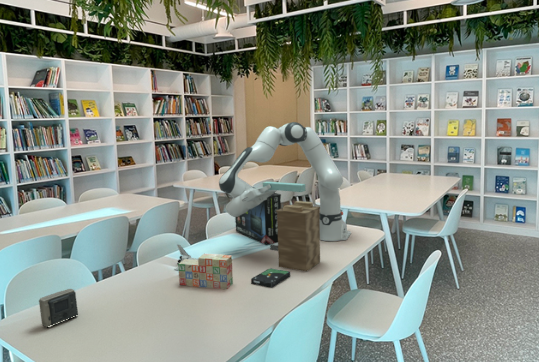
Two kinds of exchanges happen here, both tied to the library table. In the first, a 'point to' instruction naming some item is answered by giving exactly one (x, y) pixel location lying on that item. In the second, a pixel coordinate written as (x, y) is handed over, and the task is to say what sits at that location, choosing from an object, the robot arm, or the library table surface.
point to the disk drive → (270, 277)
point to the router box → (261, 221)
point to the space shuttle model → (183, 256)
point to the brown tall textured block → (298, 236)
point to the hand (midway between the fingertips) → (273, 184)
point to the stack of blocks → (207, 271)
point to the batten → (285, 186)
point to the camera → (58, 307)
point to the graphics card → (274, 246)
